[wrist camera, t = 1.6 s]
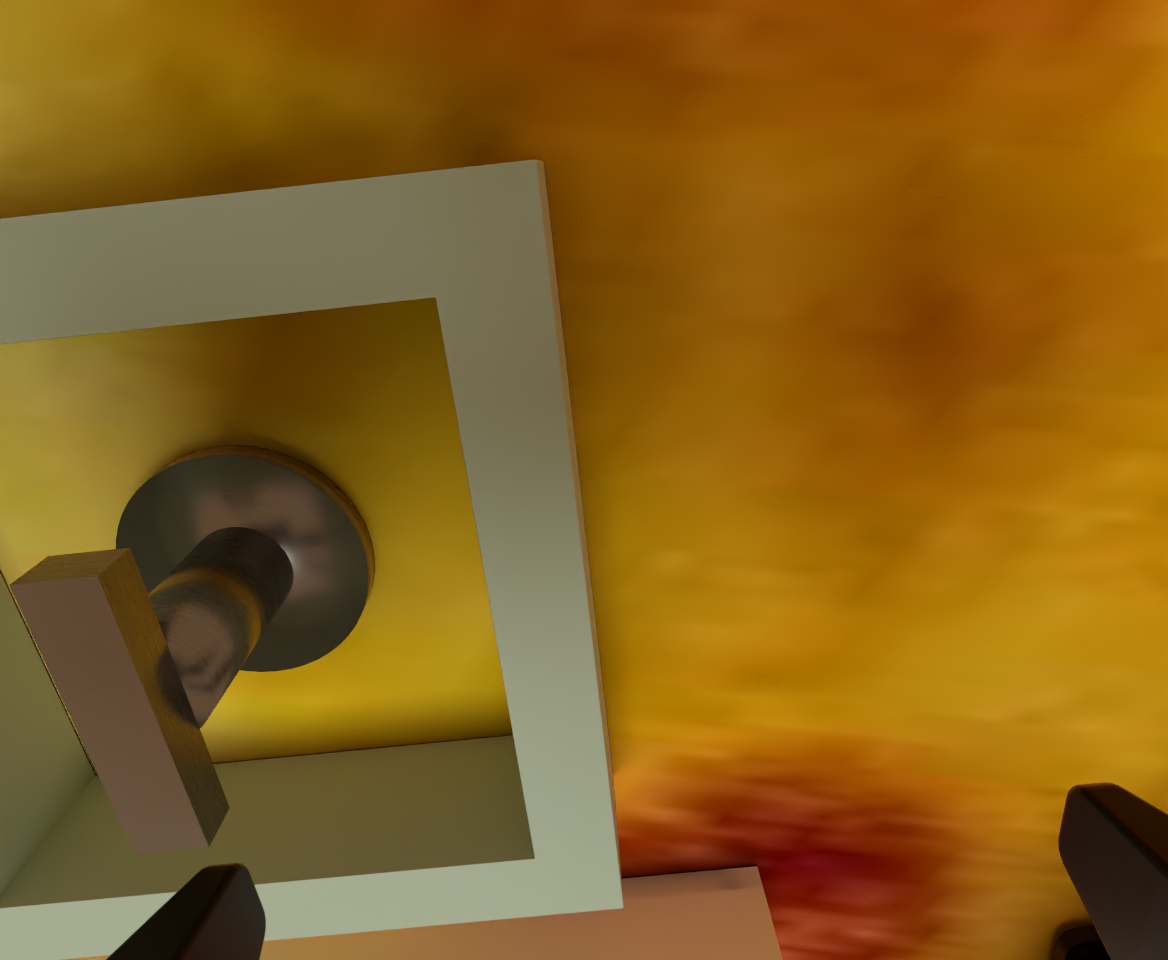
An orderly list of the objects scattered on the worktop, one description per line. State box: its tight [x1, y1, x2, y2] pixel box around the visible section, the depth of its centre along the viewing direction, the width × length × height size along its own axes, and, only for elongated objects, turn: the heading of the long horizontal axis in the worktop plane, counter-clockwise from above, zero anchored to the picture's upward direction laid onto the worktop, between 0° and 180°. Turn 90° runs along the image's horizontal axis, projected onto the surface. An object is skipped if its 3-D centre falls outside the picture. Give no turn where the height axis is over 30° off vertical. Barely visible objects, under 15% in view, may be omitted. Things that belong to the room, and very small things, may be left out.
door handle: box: [10, 445, 375, 854], centre depth 13 cm, size 5×5×5 cm
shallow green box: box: [0, 159, 623, 960], centre depth 14 cm, size 14×14×4 cm
